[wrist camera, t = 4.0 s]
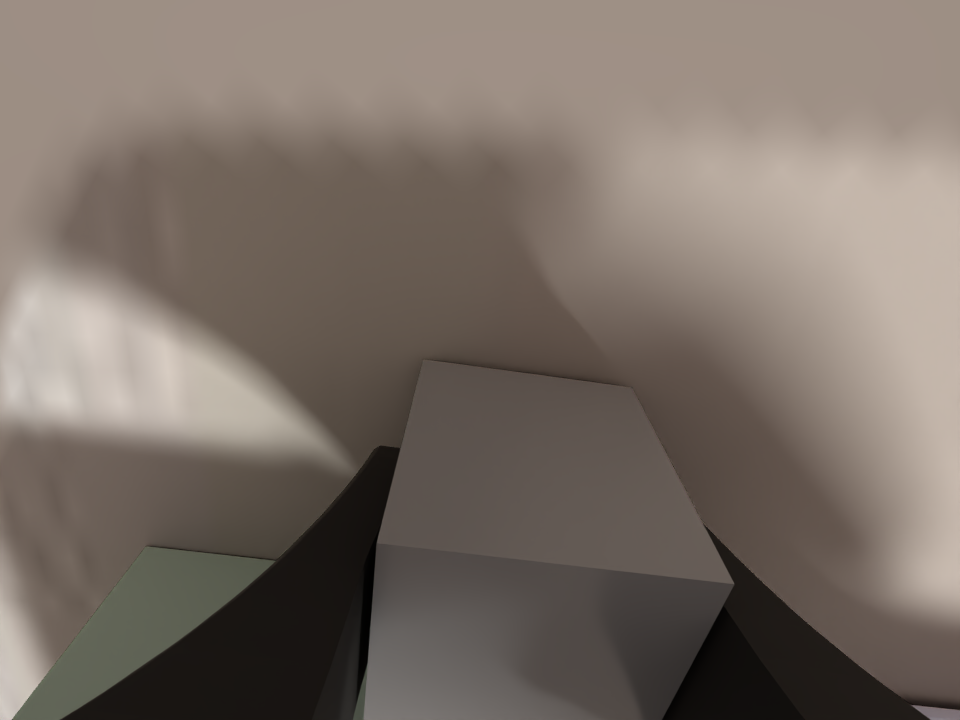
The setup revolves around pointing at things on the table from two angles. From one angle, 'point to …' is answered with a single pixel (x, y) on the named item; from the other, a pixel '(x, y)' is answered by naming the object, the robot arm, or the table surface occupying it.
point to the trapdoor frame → (144, 625)
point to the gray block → (535, 557)
